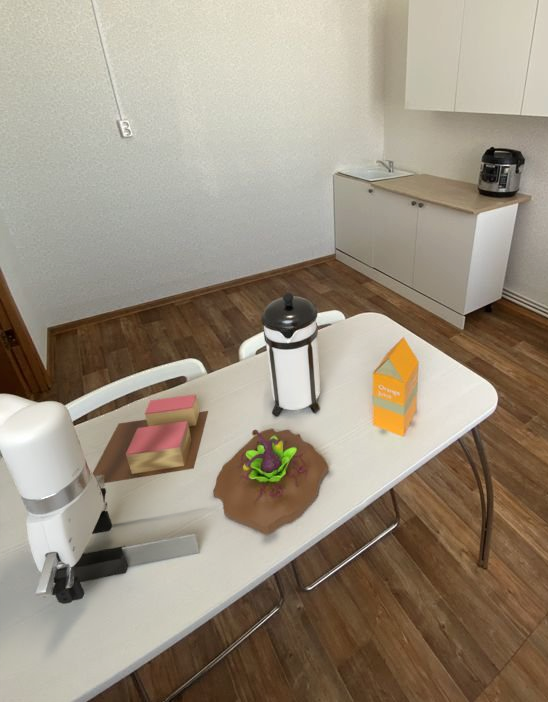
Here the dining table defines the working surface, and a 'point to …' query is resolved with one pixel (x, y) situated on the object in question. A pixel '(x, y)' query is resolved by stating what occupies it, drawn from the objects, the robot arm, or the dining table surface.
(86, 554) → the knife
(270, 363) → the coffee press
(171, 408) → the cake slice
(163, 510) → the dining table surface
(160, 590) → the dining table surface
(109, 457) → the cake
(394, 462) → the dining table surface
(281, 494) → the plant
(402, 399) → the orange juice
